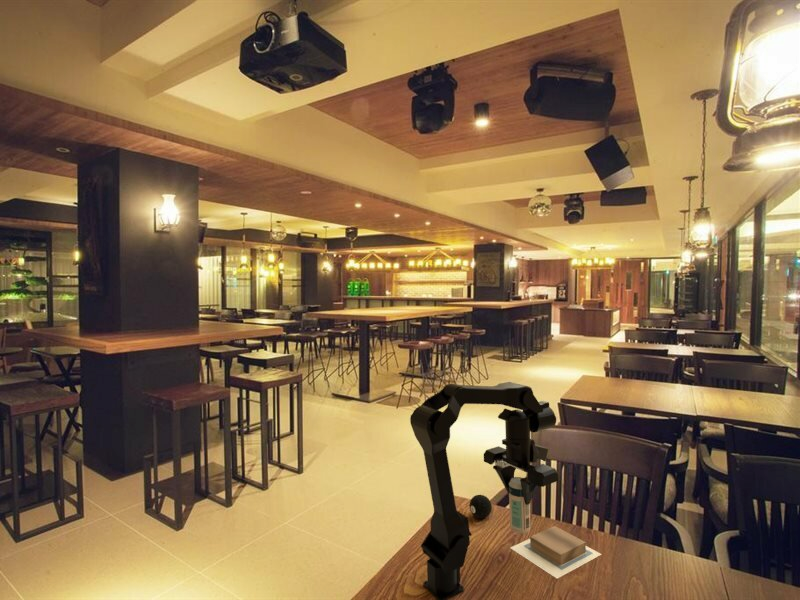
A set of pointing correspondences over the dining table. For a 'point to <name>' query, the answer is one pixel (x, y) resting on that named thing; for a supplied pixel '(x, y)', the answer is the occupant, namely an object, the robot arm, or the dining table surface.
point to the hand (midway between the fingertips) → (519, 500)
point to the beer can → (518, 508)
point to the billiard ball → (480, 506)
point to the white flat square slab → (549, 564)
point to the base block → (558, 545)
